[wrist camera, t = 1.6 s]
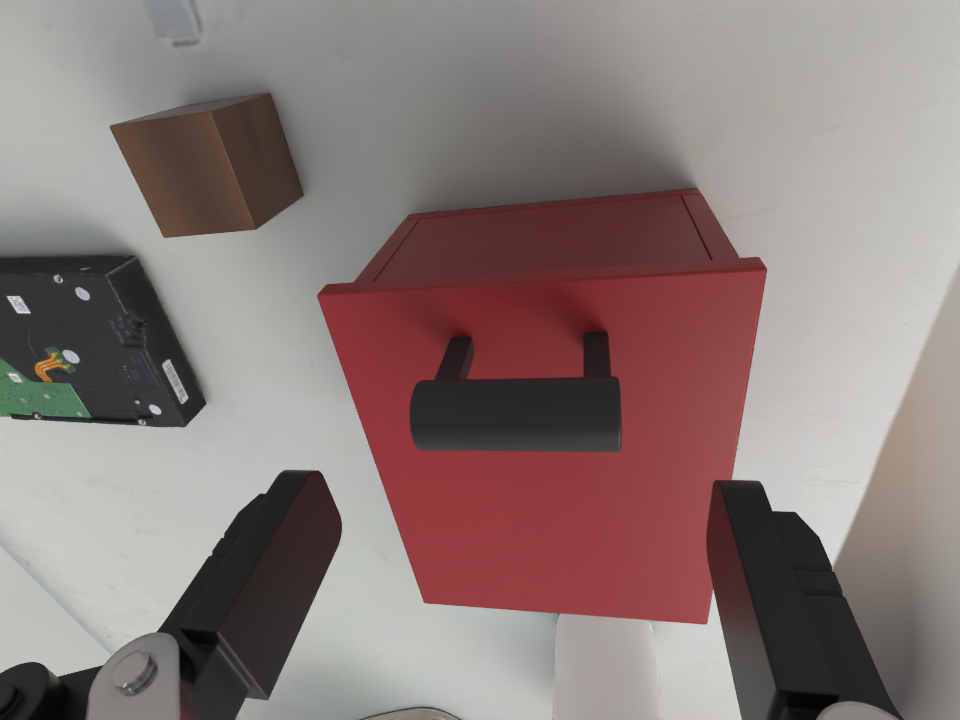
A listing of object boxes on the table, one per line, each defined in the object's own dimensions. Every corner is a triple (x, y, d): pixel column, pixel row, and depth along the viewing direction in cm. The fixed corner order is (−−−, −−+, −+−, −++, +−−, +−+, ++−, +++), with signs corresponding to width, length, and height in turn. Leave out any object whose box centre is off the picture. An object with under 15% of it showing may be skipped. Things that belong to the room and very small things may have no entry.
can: (652, 595, 37) (677, 806, 28) (650, 647, 41) (671, 849, 31) (553, 589, 39) (543, 787, 29) (560, 640, 43) (553, 830, 33)
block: (222, 204, 26) (163, 238, 22) (181, 106, 23) (108, 126, 20) (304, 196, 25) (256, 230, 21) (270, 92, 22) (210, 110, 19)
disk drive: (141, 247, 28) (-81, 255, 30) (102, 269, 26) (-134, 276, 28) (214, 400, 34) (22, 396, 36) (188, 429, 31) (-15, 423, 34)
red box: (408, 214, 24) (334, 304, 17) (698, 187, 22) (755, 281, 14) (462, 458, 33) (428, 587, 26) (675, 461, 30) (703, 606, 23)
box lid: (325, 283, 17) (242, 375, 13) (759, 255, 14) (831, 362, 10) (427, 588, 26) (398, 700, 21) (704, 607, 23) (729, 739, 19)
